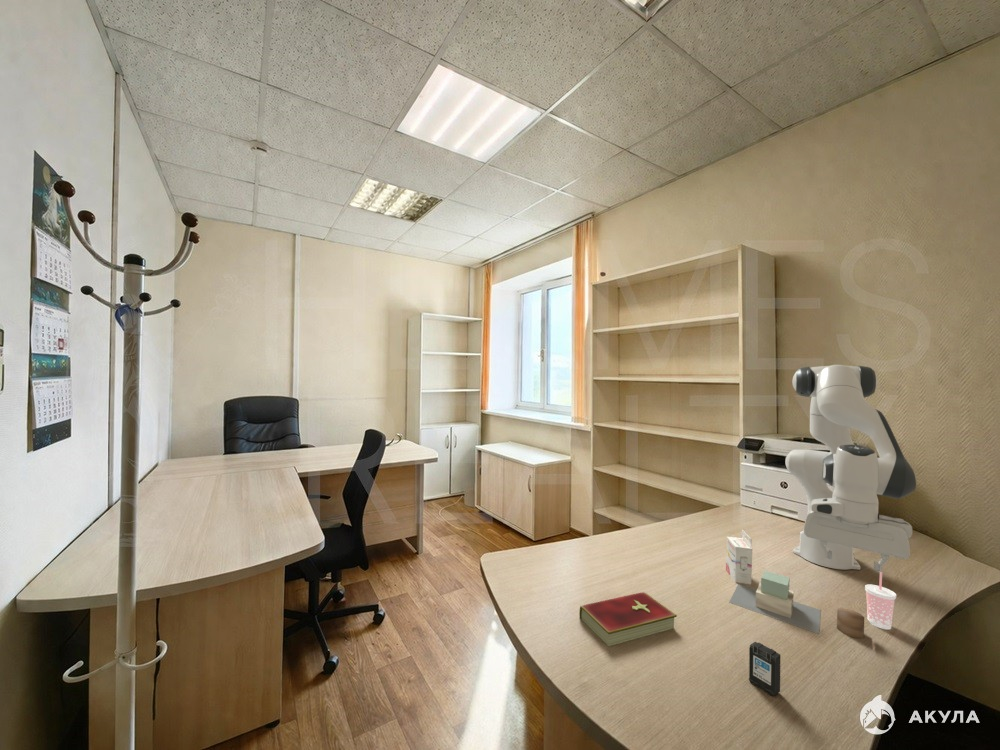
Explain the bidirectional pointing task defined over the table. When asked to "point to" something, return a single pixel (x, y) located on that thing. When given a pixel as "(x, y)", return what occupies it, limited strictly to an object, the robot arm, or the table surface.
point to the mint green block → (775, 585)
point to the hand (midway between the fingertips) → (852, 564)
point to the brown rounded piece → (850, 622)
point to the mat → (800, 614)
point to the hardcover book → (627, 618)
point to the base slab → (775, 603)
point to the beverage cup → (880, 605)
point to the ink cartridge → (764, 668)
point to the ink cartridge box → (739, 558)
